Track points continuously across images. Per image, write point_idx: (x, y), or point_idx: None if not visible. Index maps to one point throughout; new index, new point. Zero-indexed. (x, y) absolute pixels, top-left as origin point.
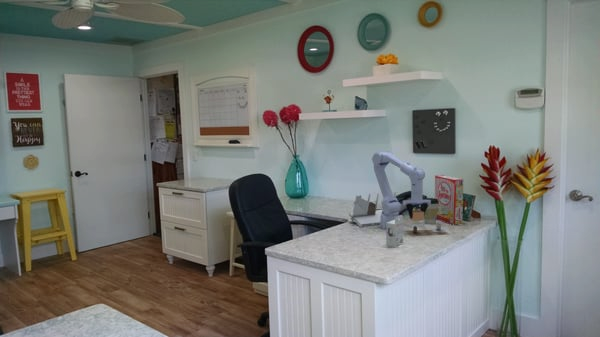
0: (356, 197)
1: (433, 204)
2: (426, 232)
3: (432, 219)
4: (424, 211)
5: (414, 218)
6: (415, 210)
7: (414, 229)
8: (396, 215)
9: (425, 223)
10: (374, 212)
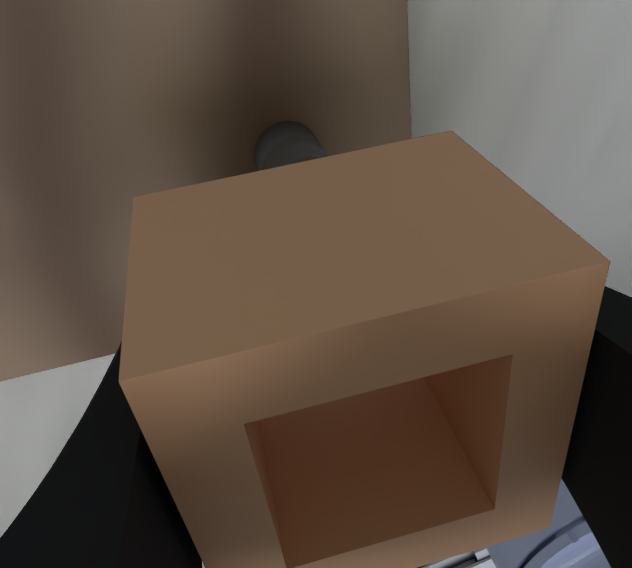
0: None
1: None
2: (78, 203)
3: None
4: (81, 473)
5: (450, 164)
6: (385, 555)
7: (320, 151)
8: (566, 517)
9: None
10: None
